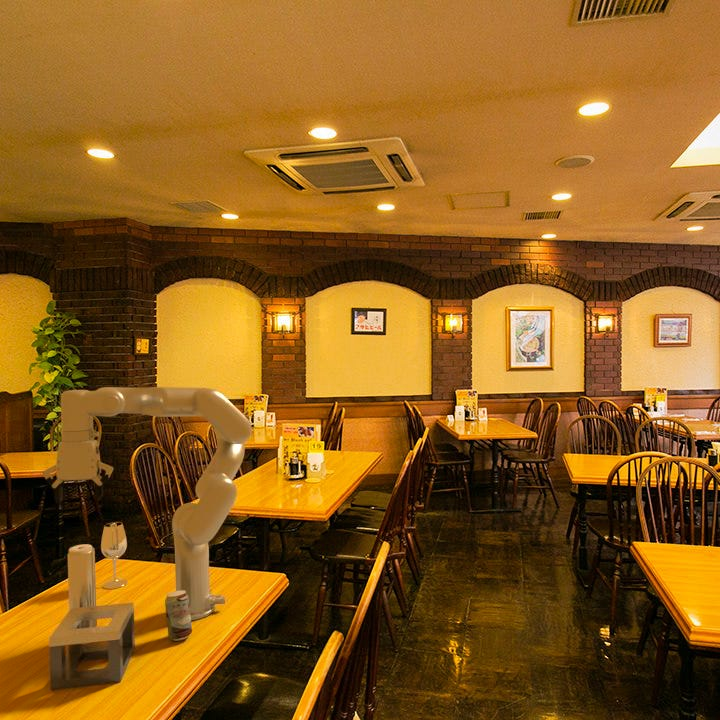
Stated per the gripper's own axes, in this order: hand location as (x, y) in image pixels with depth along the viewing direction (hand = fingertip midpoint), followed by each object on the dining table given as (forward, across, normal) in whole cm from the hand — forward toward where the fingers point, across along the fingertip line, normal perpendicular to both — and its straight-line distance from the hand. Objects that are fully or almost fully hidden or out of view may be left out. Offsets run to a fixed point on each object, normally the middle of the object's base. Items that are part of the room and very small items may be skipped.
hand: (79, 500), depth 148 cm
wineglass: (+38, +1, -37) cm, 53 cm away
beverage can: (+38, -25, +4) cm, 45 cm away
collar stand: (+37, -7, +15) cm, 41 cm away
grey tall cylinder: (+38, 0, 0) cm, 38 cm away
